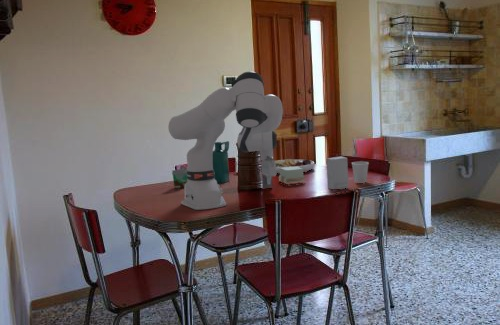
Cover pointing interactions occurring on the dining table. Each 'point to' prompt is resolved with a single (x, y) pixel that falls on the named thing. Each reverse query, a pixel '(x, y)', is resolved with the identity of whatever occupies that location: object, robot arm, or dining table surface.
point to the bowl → (294, 164)
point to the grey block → (265, 182)
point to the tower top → (291, 172)
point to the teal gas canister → (221, 162)
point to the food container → (180, 177)
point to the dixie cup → (360, 171)
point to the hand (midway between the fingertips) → (265, 183)
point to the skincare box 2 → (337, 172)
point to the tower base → (291, 179)
